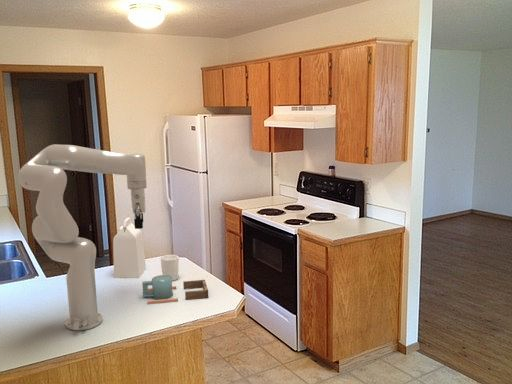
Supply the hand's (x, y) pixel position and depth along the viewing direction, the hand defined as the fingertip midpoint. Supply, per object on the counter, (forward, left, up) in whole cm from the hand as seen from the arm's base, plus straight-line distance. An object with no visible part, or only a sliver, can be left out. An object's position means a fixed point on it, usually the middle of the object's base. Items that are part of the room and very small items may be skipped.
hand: (139, 225), depth 192 cm
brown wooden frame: (-8, -22, -28) cm, 36 cm away
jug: (-8, -6, -28) cm, 30 cm away
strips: (-8, -8, -28) cm, 30 cm away
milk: (+22, +6, -29) cm, 37 cm away
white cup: (+11, -12, -28) cm, 33 cm away
